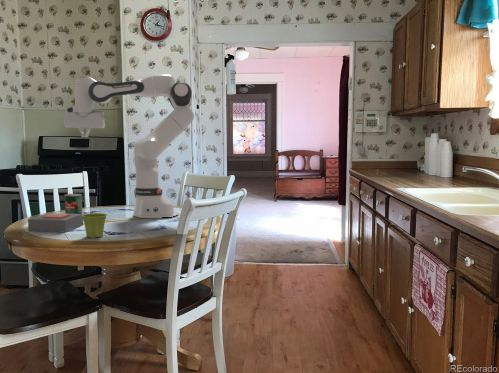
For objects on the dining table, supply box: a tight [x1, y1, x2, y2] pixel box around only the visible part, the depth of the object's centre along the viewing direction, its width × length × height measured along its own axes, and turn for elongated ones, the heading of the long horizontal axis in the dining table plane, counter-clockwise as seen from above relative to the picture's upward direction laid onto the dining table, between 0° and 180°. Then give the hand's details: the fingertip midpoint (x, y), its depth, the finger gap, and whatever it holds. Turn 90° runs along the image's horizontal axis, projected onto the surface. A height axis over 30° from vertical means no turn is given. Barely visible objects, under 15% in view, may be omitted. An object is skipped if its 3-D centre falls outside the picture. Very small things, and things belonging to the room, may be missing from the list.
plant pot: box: [82, 212, 108, 239], centre depth 176 cm, size 9×9×9 cm
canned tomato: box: [64, 193, 83, 214], centre depth 220 cm, size 8×8×11 cm
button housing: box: [27, 212, 84, 233], centre depth 192 cm, size 16×16×5 cm
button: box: [43, 214, 70, 218], centre depth 192 cm, size 8×8×4 cm
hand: (84, 137), depth 226 cm, fingers closed
